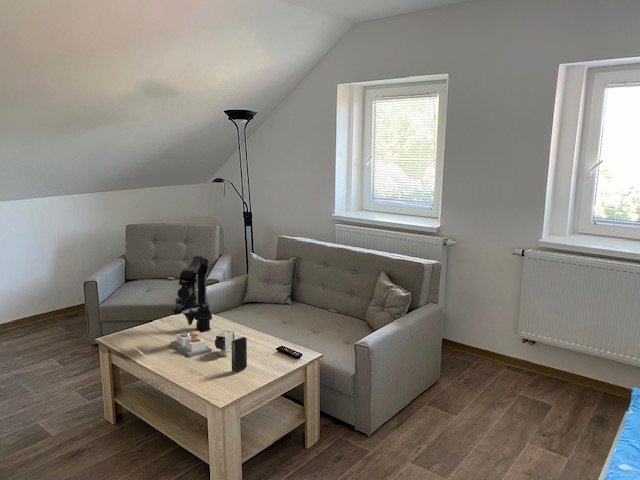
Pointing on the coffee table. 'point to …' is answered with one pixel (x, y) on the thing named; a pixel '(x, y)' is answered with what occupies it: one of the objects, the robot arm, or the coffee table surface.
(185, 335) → the plug metal
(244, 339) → the phone
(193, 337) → the plug terracotta
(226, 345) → the pneumatic valve
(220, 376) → the coffee table surface
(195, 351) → the board
